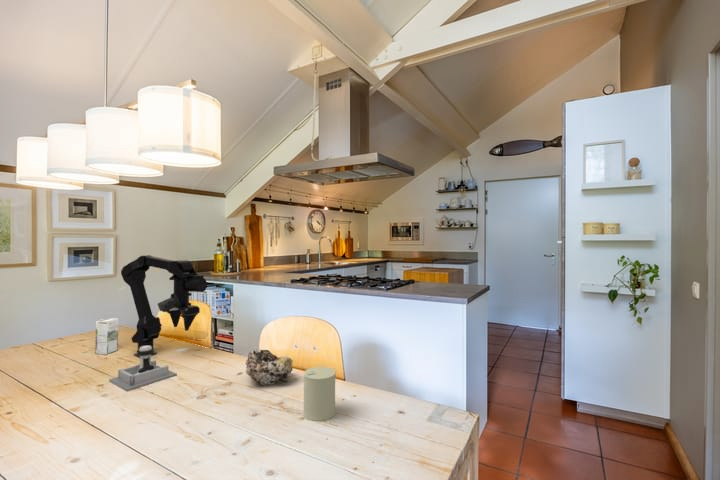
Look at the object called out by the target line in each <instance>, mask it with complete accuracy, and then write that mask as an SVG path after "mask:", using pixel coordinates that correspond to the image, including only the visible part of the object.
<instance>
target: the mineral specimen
mask: <svg viewBox="0 0 720 480" xmlns="http://www.w3.org/2000/svg"><path fill="white" fill-rule="evenodd" d="M293 363H294V362H293V359H292V358H291V357H289V356H280V357H278V356H277V355H276V354H273V353H272V352H271V351H270V350H269V349H261V348H259V349H252V350H250V352H248V356H247V359H246V360H245V366H246V370H245V374H246V375H247V376H248V377H250V378H251V380H254V381H257V382H259V383H260V384H261V385H263V386H264V385H274V384H279V383H282V382H283V381H284V380H285V379H288V378H290V377H291V376H292V371H293Z"/></svg>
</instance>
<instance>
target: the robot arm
mask: <svg viewBox="0 0 720 480" xmlns="http://www.w3.org/2000/svg"><path fill="white" fill-rule="evenodd" d="M151 267H152V268H157V269H161V270H166V271H167V272H168V273H170V274H171V276H170V277H169V278H168V279H169V281H173V293H171V294H170V297H169V298H167V299H164V300H162V301H160V302H158V303H157V306H158V309H159V311H160V312H163V313H167V314H168V315H170V319H171V321H172V324H173V327H174V328H178V325H179V322H180V319H181V317H182V319H183V325H184V331H185V332H187V331H189V329H190V327H191V325H192V324H193V321H194V319H195V318H196V317H197V315H198V314H199V313H201V310H200V309H201V308H200V307H199V306H198V305H195V304H194V305H193V304H192V303H191V302H190V297H191V296H192V293H204V292H205V291H206V289H207V288H208V282H207V280H206V279H205V278H204V277H205V275H202V274H201V275H199V274H198V273H197V272H196V270H195V268H194V266H193V265H192V262H191V260H187V259H186V260H185V259H184V260H181V259H180V260H172V259H167V258H163V257H162V258H161V257H157V256H153V255H151V254H149V255H148V254H147V255H140V256H139V257H137V258H136V259H134V260H132V261H131V262H129V263H128V264H126V265H124V266H123V267H122V269H120V274H121V277H122V279H123V281H124V283H126V284H127V285H128V286H129V287H130V291H131V295H132V299H133V301H134V306H135V309H136V310H135V311H136V312H137V317H138V321H137V324H136V332H135V333H134V334H133V336H131V341H132V343H135V344H137V350H138V349H140V347H142V346H146V345H150V346H151V347H153V348H154V340H156V339H159V336H160V333H161V331H162V325H163V324H162V323H161V319H160V317H159V316H158V317H157V316H154V315H153V312H152V309H151V305H150V301H149V298H148V295H147V291H146V288H145V287H146V286H145V279H146V278H147V275H146V272H147V271H149V270H150V268H151ZM191 292H192V293H191ZM157 354H158V352H156V351H154V352H153V354H151V356H153V355H157ZM133 356H135V357H136V358H137V357H138V358H140V356H138V355H137V352H136V353H134V354H133Z"/></svg>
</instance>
